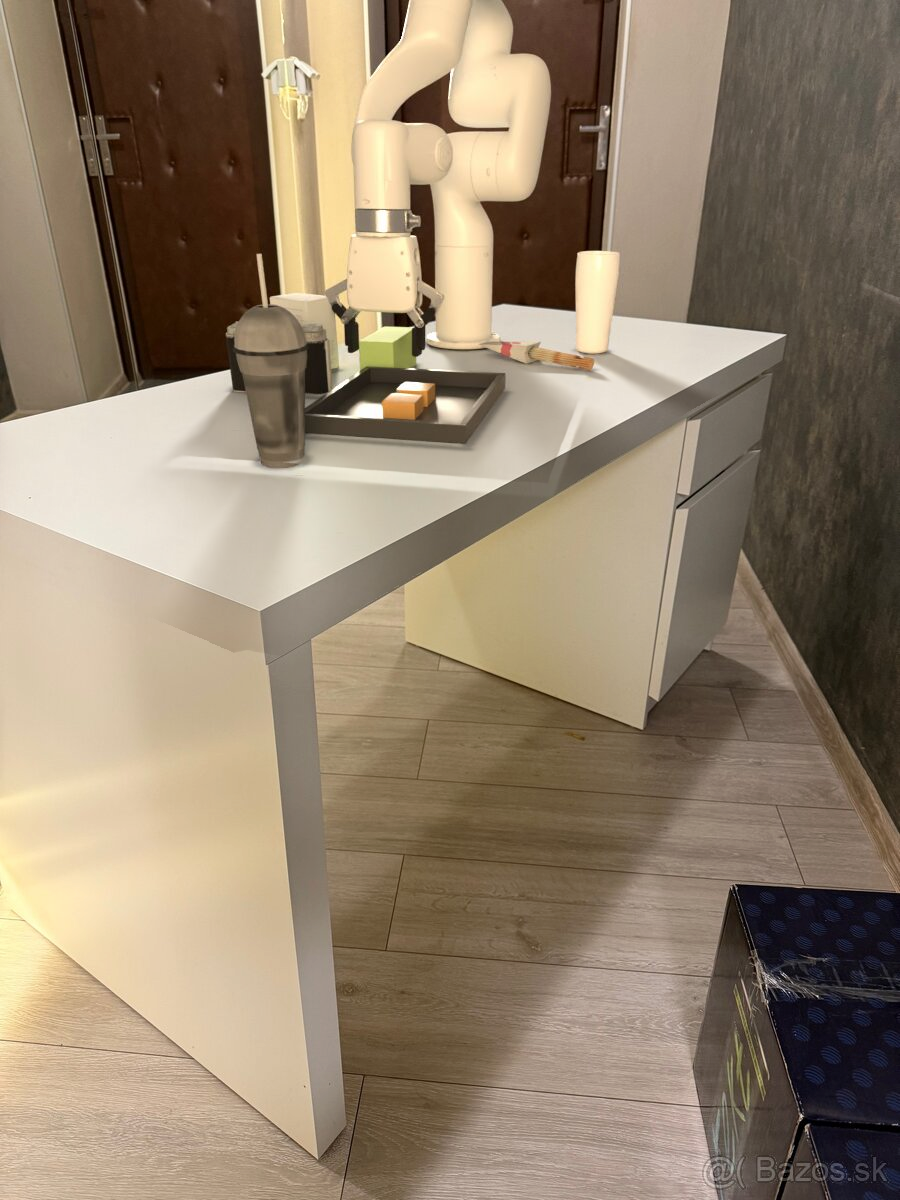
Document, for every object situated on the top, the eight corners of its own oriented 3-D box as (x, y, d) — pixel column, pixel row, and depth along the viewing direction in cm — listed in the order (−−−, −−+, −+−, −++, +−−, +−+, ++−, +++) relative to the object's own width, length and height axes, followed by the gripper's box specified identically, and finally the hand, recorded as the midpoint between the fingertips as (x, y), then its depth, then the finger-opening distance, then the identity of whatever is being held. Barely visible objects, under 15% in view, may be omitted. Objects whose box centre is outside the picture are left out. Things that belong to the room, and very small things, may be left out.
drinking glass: (621, 352, 135) (630, 253, 128) (590, 357, 132) (597, 255, 125) (592, 345, 140) (599, 249, 133) (562, 350, 137) (567, 252, 130)
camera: (215, 396, 110) (204, 318, 106) (241, 384, 116) (232, 310, 111) (315, 404, 106) (308, 324, 102) (337, 392, 112) (332, 315, 107)
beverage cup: (254, 476, 82) (229, 260, 73) (240, 455, 88) (215, 252, 79) (325, 466, 85) (310, 256, 76) (307, 446, 91) (290, 249, 81)
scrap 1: (392, 409, 102) (391, 393, 101) (423, 411, 101) (423, 394, 101) (382, 417, 99) (381, 401, 98) (414, 419, 98) (414, 403, 97)
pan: (367, 384, 116) (366, 366, 115) (505, 392, 112) (505, 373, 111) (296, 437, 94) (294, 414, 93) (465, 449, 90) (465, 425, 89)
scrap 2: (405, 397, 107) (404, 381, 106) (435, 399, 107) (435, 383, 106) (396, 405, 104) (396, 389, 103) (427, 407, 103) (427, 390, 102)
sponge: (385, 363, 129) (383, 326, 126) (416, 364, 128) (415, 327, 125) (360, 380, 118) (358, 341, 116) (394, 382, 117) (392, 342, 115)
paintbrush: (490, 331, 134) (598, 353, 124) (489, 349, 136) (596, 371, 125) (476, 335, 132) (585, 357, 121) (475, 352, 133) (583, 376, 123)
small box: (340, 370, 124) (335, 296, 119) (312, 377, 120) (306, 301, 115) (304, 363, 128) (297, 291, 123) (276, 369, 125) (268, 295, 120)
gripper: (450, 225, 115) (448, 352, 122) (332, 222, 118) (337, 346, 125) (437, 226, 108) (436, 361, 115) (313, 223, 111) (319, 354, 119)
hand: (385, 353), depth 120 cm, fingers open, 9 cm apart
